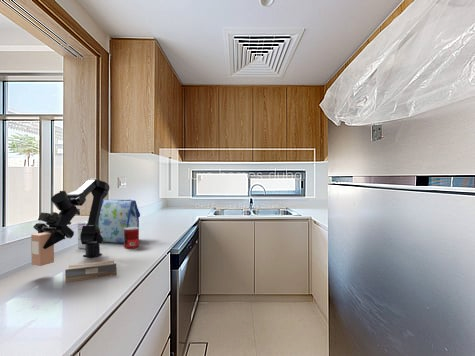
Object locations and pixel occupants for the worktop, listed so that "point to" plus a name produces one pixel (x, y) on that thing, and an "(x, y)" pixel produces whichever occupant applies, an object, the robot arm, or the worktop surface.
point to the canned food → (131, 237)
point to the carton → (41, 249)
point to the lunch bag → (117, 219)
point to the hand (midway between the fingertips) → (39, 247)
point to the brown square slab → (90, 271)
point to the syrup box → (80, 233)
